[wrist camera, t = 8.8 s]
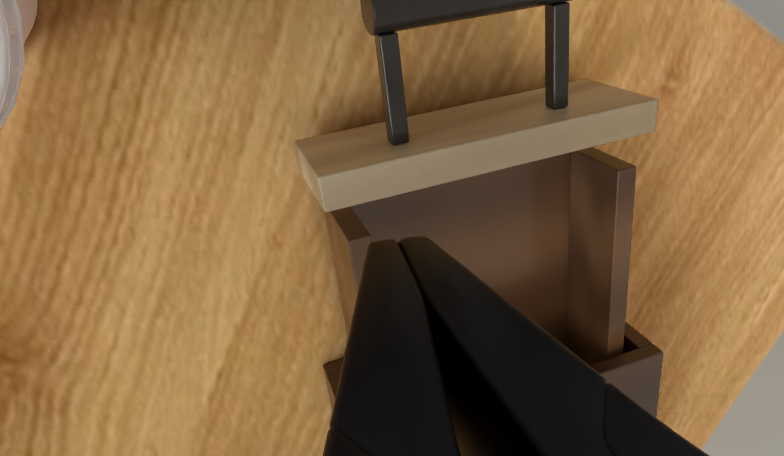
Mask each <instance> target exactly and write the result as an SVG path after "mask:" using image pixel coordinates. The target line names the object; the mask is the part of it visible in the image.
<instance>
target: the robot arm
mask: <svg viewBox="0 0 784 456" xmlns="http://www.w3.org/2000/svg"><path fill="white" fill-rule="evenodd" d="M323 456H709V455H707V454H706V453H704V452H703V451H702V450H700V449H699V448H697V447H696V446H694V445H693V444H692V443H690V442H689V441H687V440H686V439H684V438H683V437H682V436H680V435H679V434H677V433H676V432H674V431H673V430H672V429H670V428H669V427H668V426H666V425H665V424H664V423H662V422H661V421H660V420H658V419H657V418H656V417H655V416H653V415H652V414H651V413H649V412H648V411H647V410H645V409H644V408H643V407H641V406H640V405H639V404H637V403H636V402H635V401H634V400H632V399H631V398H630V397H629V396H627V395H626V394H625V393H623V392H622V391H621V390H620V389H618V388H617V387H616V386H615V385H613V384H612V383H607V384H606V379H605V378H604V377H603V376H602V375H600V374H599V373H598V372H597V371H595V370H594V369H593V368H592V367H590V366H589V365H588V364H587V363H585V362H584V361H583V360H582V359H580V358H579V357H578V356H577V355H575V354H574V353H573V352H572V351H570V350H569V349H568V348H567V347H565V346H564V345H563V344H561V343H560V342H559V341H558V340H556V339H555V338H554V337H553V336H551V335H550V334H549V333H548V332H546V331H545V330H544V329H543V328H541V327H540V326H539V325H538V324H536V323H535V322H534V321H533V320H531V319H530V318H529V317H528V316H526V315H525V314H524V313H523V312H521V311H520V310H519V309H517V308H516V307H515V306H514V305H512V304H511V303H510V302H509V301H507V300H506V299H505V298H504V297H502V296H501V295H500V294H499V293H497V292H496V291H495V290H494V289H492V288H491V287H490V286H489V285H487V284H486V283H485V282H484V281H482V280H481V279H480V278H478V277H477V276H476V275H475V274H473V273H472V272H471V271H470V270H468V269H467V268H466V267H465V266H463V265H462V264H461V263H460V262H458V261H457V260H456V259H455V258H453V257H452V256H451V255H450V254H448V253H447V252H446V251H445V250H443V249H442V248H441V247H439V246H438V245H437V244H436V243H434V242H433V241H432V240H431V239H429V238H428V237H426V236H414V237H404V238H400V239H399V240H398V241H396V240H394V239H385V240H375V241H370V242H369V243H368V245H367V250H366V254H365V259H364V264H363V269H362V273H361V278H360V283H359V288H358V292H357V297H356V302H355V307H354V312H353V316H352V321H351V326H350V331H349V335H348V340H347V345H346V350H345V355H344V359H343V364H342V369H341V374H340V378H339V383H338V388H337V393H336V398H335V402H334V407H333V412H332V417H331V421H330V430H329V431H328V434H327V439H326V443H325V448H324V453H323Z"/></svg>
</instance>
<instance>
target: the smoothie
mask: <svg viewBox="0 0 784 456" xmlns="http://www.w3.org/2000/svg"><path fill="white" fill-rule="evenodd" d="M36 15H37V0H0V129H1V127H2V125H3V124H4V122H5V121H6V119H7V117H8V116H9V114H10V112H11V111H12V109H13V108H14V106H15V103H16V98H17V94H18V90H19V86H20V81H21V77H22V73H23V68H24V64H25V57H24V43H25V41H26V39H27V37H28V35H29V33H30V31H31V29H32V27H33V25H34V23H35V20H36Z"/></svg>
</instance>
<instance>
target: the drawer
mask: <svg viewBox="0 0 784 456" xmlns="http://www.w3.org/2000/svg"><path fill="white" fill-rule="evenodd" d="M567 1H572V0H361V12H362V17H363V21H364V25H365V27H366V29H367V31H368V33H369V34H370V35H375V44H376V52H377V60H378V67H379V75H380V83H381V91H382V99H383V107H384V115H385V122H381V123H376V124H371V125H367V126H362V127H357V128H352V129H348V130H343V131H338V132H334V133H329V134H324V135H320V136H315V137H310V138H305V139H301V140H296V141H294V146H295V151H296V156H297V161H298V166H299V171H300V172H301V174H302V176H303V177H304V179H305V181H306V182H307V184H308V186H309V187H310V189H311V191H312V192H313V194H314V196H315V197H316V199H317V201H318V202H319V204H320V206H321V207H322V209H323V211H324V212H325V216H326V221H327V227H328V232H329V237H330V243H331V248H332V253H333V259H334V264H335V269H336V275H337V280H338V285H339V291H340V296H341V301H342V307H343V312H344V317H345V323H346V328H347V333H348V335H349V331H350V326H351V321H352V316H353V312H354V307H355V302H356V297H357V292H358V288H359V283H360V278H361V273H362V269H363V264H364V259H365V254H366V250H367V245H368V243H369V242H370V241H375V240H385V239H394V240H396V241H398V240H399V239H400V238H404V237H414V236H426V237H428V238H429V239H431V240H432V241H433V242H434V243H436V244H437V245H438V246H439V247H441V248H442V249H443V250H445V251H446V252H447V253H448V254H450V255H451V256H452V257H453V258H455V259H456V260H457V261H458V262H460V263H461V264H462V265H463V266H465V267H466V268H467V269H468V270H470V271H471V272H472V273H473V274H475V275H476V276H477V277H478V278H480V279H481V280H482V281H484V282H485V283H486V284H487V285H489V286H490V287H491V288H492V289H494V290H495V291H496V292H497V293H499V294H500V295H501V296H502V297H504V298H505V299H506V300H507V301H509V302H510V303H511V304H512V305H514V306H515V307H516V308H517V309H519V310H520V311H521V312H523V313H524V314H525V315H526V316H528V317H529V318H530V319H531V320H533V321H534V322H535V323H536V324H538V325H539V326H540V327H541V328H543V329H544V330H545V331H546V332H548V333H549V334H550V335H551V336H553V337H554V338H555V339H556V340H558V341H559V342H560V343H561V344H563V345H564V346H565V347H567V348H568V349H569V350H570V351H572V352H573V353H574V354H575V355H577V356H578V357H579V358H580V359H582V360H583V361H584V362H585V363H587V364H588V365H592V364H595V363H598V362H601V361H603V360H606V359H609V358H612V357H615V356H618V355H621V354H623V346H624V332H625V318H626V303H627V289H628V275H629V261H630V247H631V233H632V219H633V205H634V190H635V176H636V166H634V165H632V164H630V163H627V162H625V161H623V160H621V159H618V158H616V157H614V156H611V155H609V154H607V153H605V152H602V151H600V150H598V149H595V148H593V147H594V146H598V145H602V144H606V143H610V142H614V141H618V140H623V139H627V138H631V137H635V136H639V135H643V134H647V133H651V132H655V130H656V120H657V108H658V99H655V98H652V97H648V96H645V95H641V94H638V93H634V92H630V91H627V90H623V89H620V88H616V87H613V86H609V85H606V84H602V83H598V82H595V81H591V80H588V79H582V80H578V81H573V82H568V72H569V5H570V4H569V3H568V2H567ZM544 5H545V88H540V89H536V90H531V91H526V92H521V93H517V94H512V95H507V96H503V97H498V98H493V99H489V100H484V101H479V102H474V103H470V104H465V105H460V106H456V107H451V108H446V109H442V110H437V111H432V112H428V113H423V114H418V115H413V116H409V117H407V114H406V105H405V96H404V87H403V78H402V69H401V60H400V51H399V41H398V34H397V33H396V31H402V30H407V29H413V28H419V27H424V26H430V25H436V24H442V23H447V22H453V21H459V20H464V19H470V18H476V17H482V16H487V15H493V14H499V13H504V12H510V11H516V10H522V9H527V8H533V7H539V6H544Z"/></svg>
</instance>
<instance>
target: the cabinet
mask: <svg viewBox="0 0 784 456" xmlns="http://www.w3.org/2000/svg"><path fill="white" fill-rule="evenodd" d="M662 360H663V352H662V351H661V350H660V349H659V348H658V347H656V346H655V345H654V344H652V343H651V342H650V341H649V340H648V339H647V338H645V337H644V336H643V335H642V334H640V333H639V332H638V331H636V330H635V329H634V328H633V327H631V326H630V325H629V324H628V323H626V322H625V332H624V346H623V354H621V355H618V356H615V357H612V358H609V359H606V360H603V361H601V362H598V363H595V364H592V365H589V366H590V367H592V368H593V369H594V370H595V371H597V372H598V373H599V374H600V375H602V376H603V377H604V378H605V379H606V384H607V383H612V384H613V385H615V386H616V387H617V388H618V389H620V390H621V391H622V392H623V393H625V394H626V395H627V396H629V397H630V398H631V399H632V400H634V401H635V402H636V403H637V404H639V405H640V406H641V407H643V408H644V409H645V410H647V411H648V412H649V413H651V414H652V415H653V416H655V417H656V415H657V406H658V397H659V388H660V379H661V369H662ZM342 364H343V359H341V360H338V361H335V362H331V363H328V364H325V365H323V369H324V373H325V378H326V382H327V387H328V392H329V396H330V401H331V405H332V410H333V407H334V402H335V398H336V393H337V388H338V383H339V378H340V374H341V369H342Z"/></svg>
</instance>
